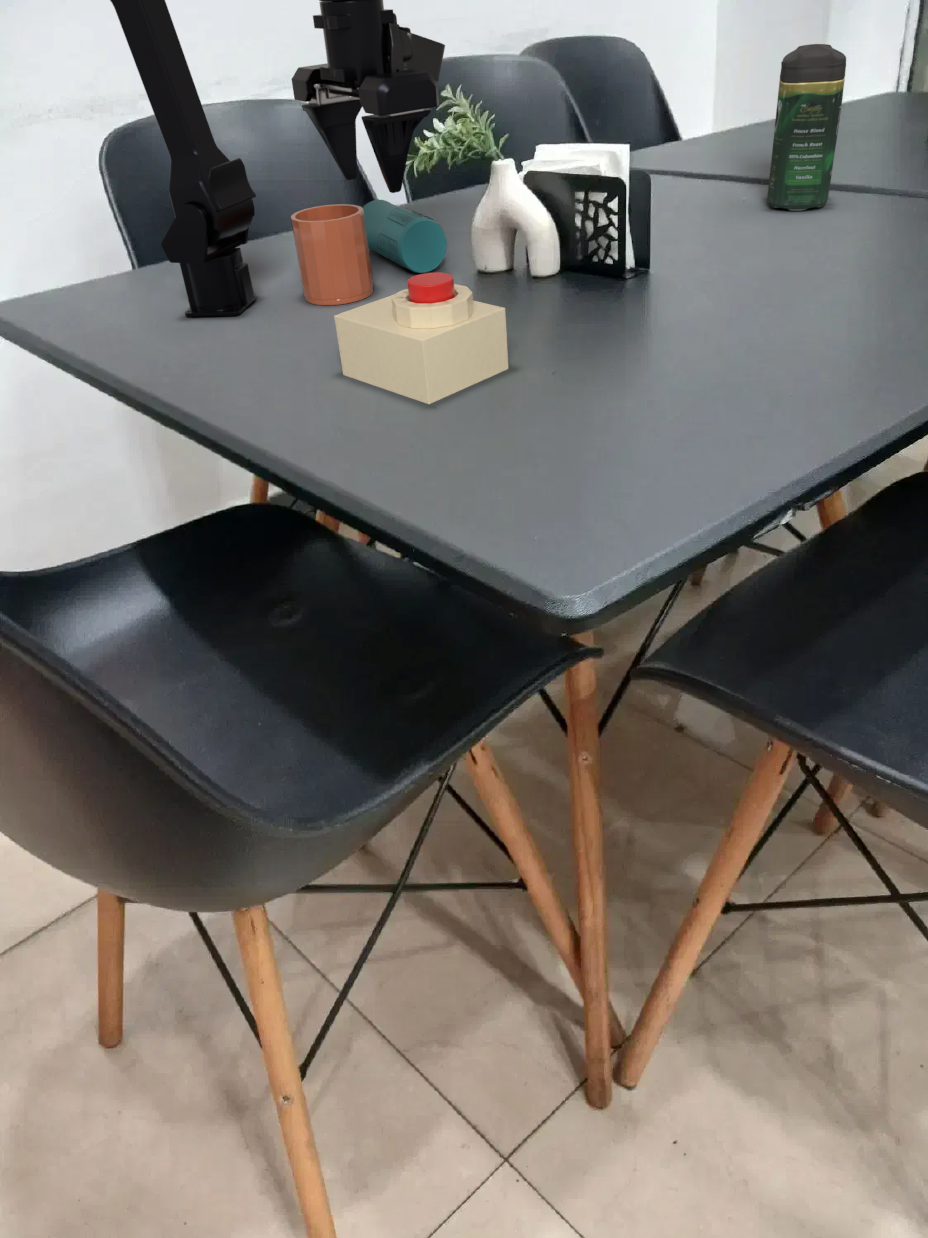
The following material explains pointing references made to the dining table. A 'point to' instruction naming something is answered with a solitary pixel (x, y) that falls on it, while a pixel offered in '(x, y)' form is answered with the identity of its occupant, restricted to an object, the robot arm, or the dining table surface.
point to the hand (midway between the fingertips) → (372, 185)
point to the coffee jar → (806, 127)
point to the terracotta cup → (333, 254)
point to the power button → (431, 288)
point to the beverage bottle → (404, 236)
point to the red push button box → (423, 344)
